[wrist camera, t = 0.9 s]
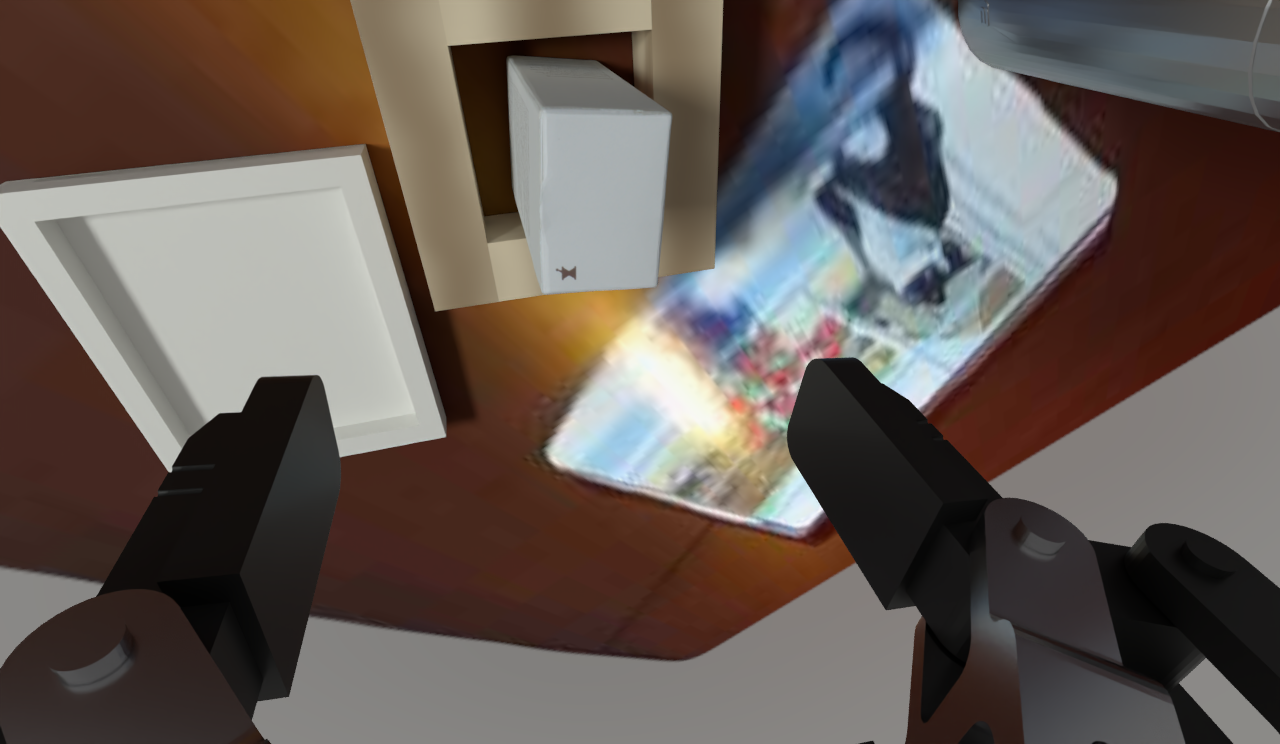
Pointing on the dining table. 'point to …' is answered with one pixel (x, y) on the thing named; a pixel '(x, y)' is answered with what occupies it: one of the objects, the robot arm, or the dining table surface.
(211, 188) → the grey tray
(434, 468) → the dining table surface
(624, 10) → the frame
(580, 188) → the skincare box
